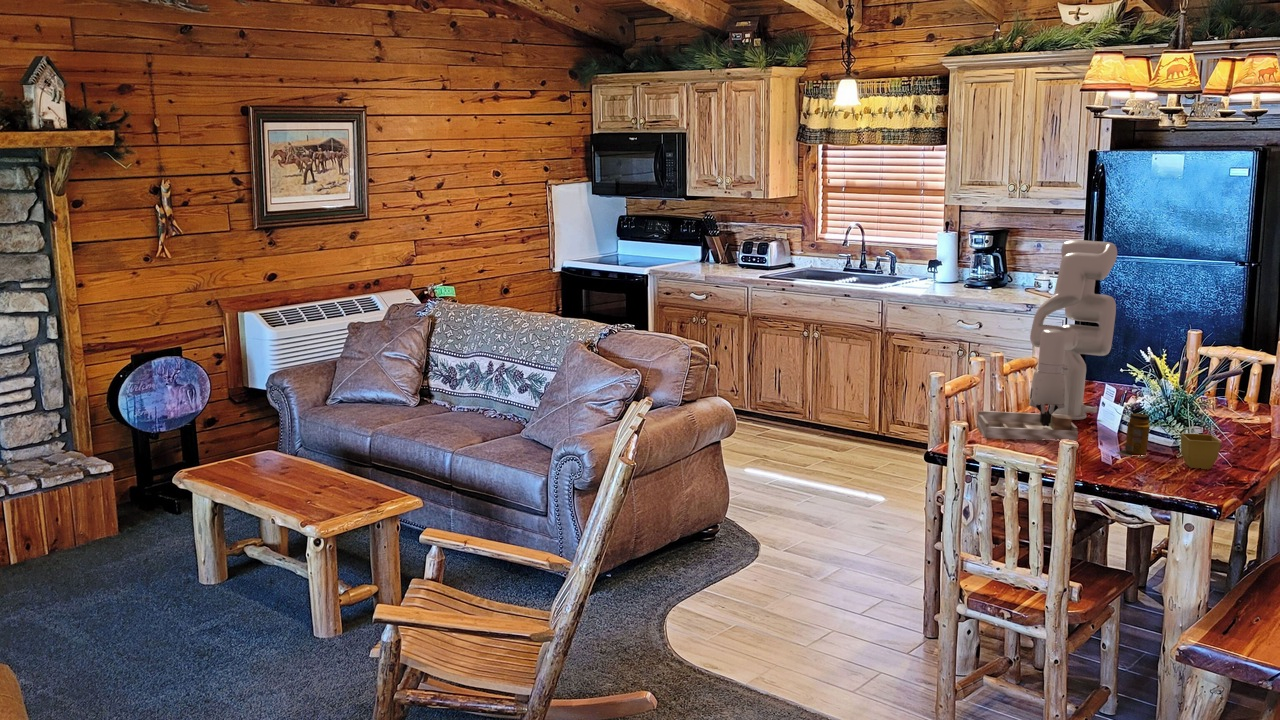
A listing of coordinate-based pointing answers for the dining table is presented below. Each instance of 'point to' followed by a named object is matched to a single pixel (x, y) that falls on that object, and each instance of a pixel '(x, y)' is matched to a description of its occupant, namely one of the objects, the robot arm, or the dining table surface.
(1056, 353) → the robot arm
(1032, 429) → the compartment box
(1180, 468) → the dining table surface
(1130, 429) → the condiment
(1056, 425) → the walnut block
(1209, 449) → the flower pot
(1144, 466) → the dining table surface
